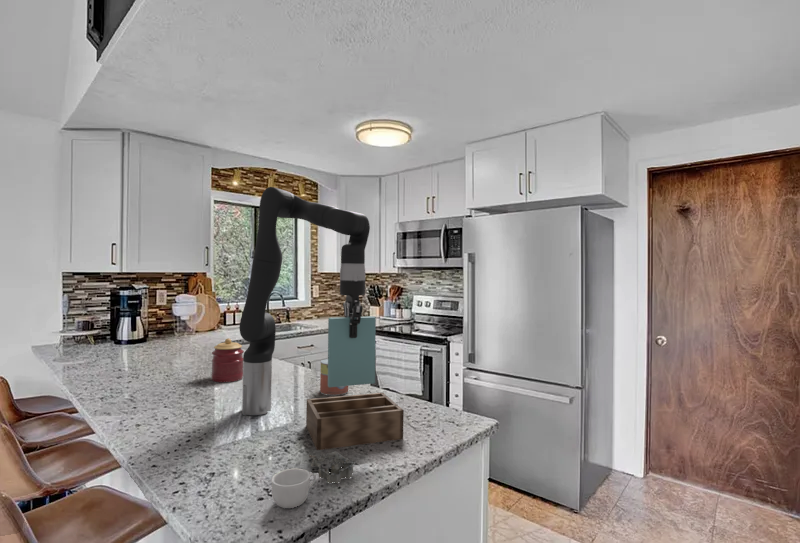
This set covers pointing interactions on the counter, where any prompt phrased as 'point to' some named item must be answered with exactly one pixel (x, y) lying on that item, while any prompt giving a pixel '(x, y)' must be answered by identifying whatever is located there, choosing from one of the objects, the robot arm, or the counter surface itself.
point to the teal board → (351, 352)
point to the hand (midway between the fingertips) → (352, 336)
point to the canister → (227, 362)
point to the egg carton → (333, 467)
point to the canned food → (324, 382)
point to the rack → (353, 420)
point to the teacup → (291, 487)
